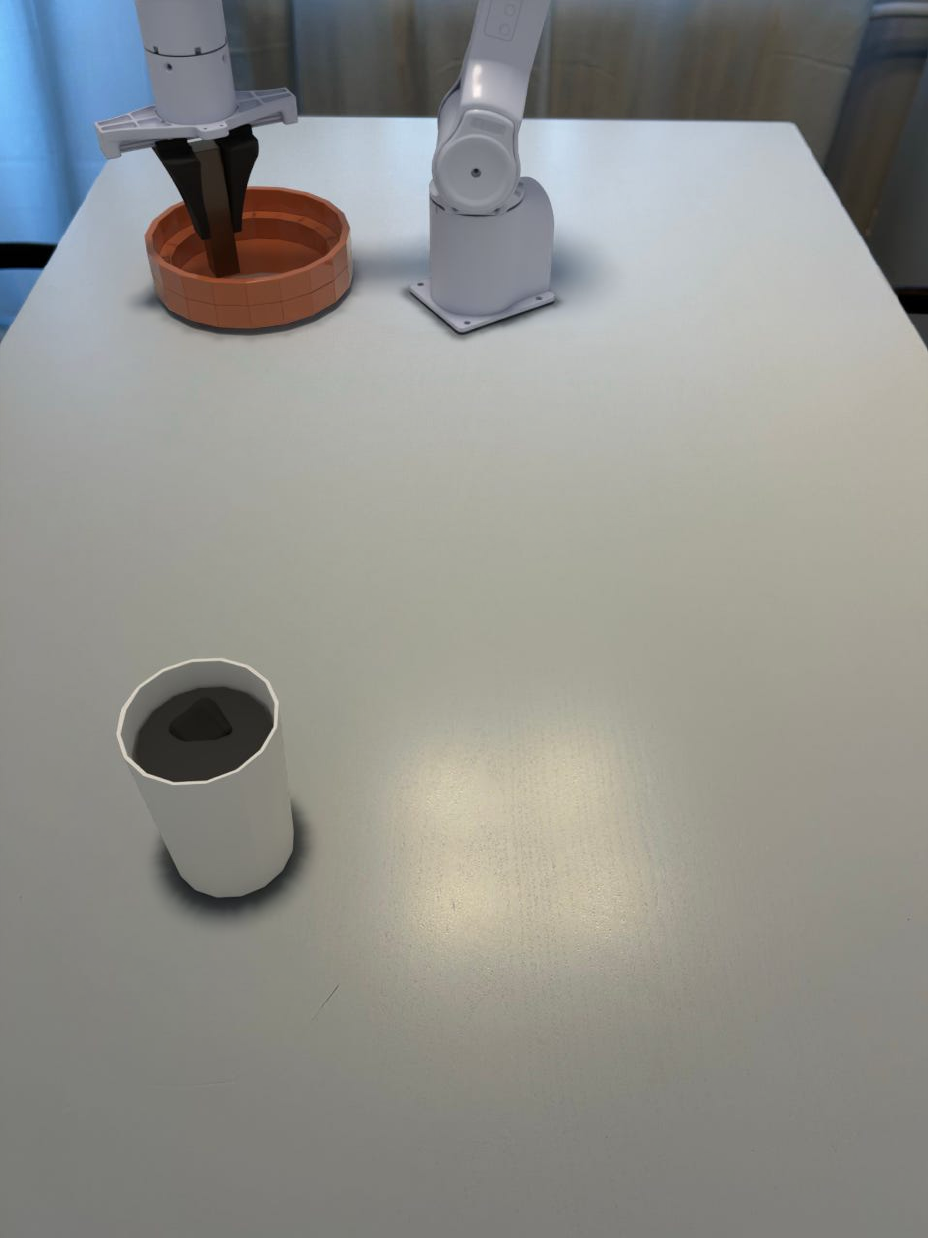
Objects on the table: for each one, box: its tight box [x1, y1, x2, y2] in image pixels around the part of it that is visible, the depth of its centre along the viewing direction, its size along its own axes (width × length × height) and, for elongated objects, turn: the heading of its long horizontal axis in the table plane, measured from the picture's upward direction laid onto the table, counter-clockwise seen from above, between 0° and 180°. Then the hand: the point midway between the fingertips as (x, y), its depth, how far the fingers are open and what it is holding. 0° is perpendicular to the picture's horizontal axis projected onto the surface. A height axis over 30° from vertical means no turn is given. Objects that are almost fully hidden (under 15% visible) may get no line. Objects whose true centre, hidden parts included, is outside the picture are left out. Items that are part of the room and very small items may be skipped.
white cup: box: [115, 657, 295, 898], centre depth 46 cm, size 7×7×10 cm
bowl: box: [144, 185, 354, 329], centre depth 85 cm, size 16×16×4 cm
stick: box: [188, 139, 240, 278], centre depth 80 cm, size 2×2×10 cm
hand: (217, 230), depth 81 cm, fingers closed on stick, 2 cm apart
